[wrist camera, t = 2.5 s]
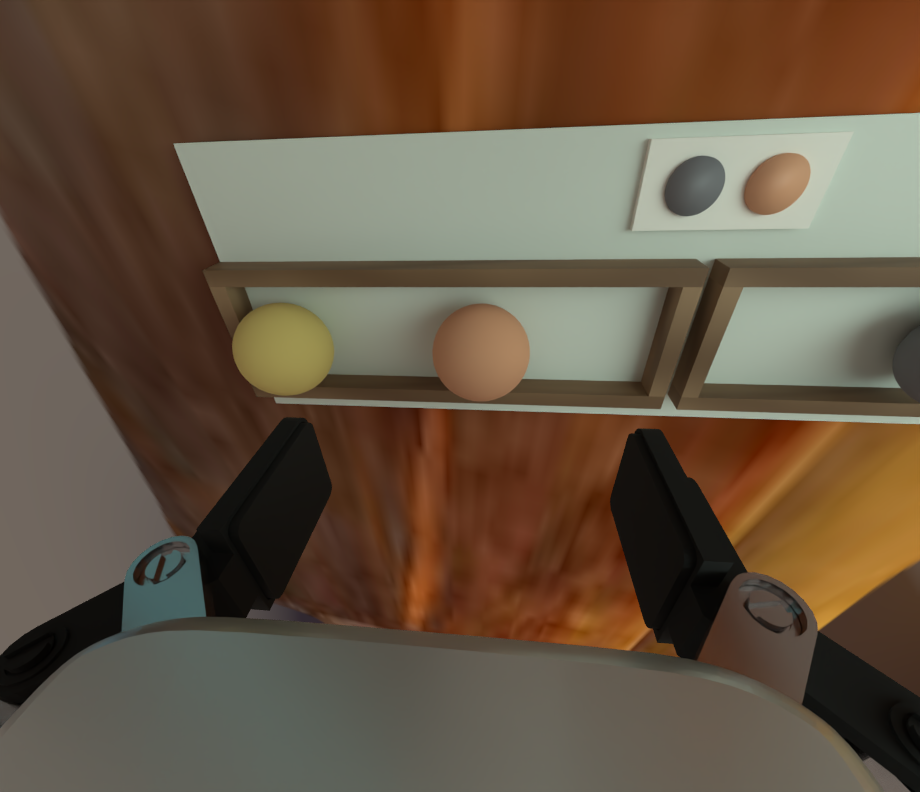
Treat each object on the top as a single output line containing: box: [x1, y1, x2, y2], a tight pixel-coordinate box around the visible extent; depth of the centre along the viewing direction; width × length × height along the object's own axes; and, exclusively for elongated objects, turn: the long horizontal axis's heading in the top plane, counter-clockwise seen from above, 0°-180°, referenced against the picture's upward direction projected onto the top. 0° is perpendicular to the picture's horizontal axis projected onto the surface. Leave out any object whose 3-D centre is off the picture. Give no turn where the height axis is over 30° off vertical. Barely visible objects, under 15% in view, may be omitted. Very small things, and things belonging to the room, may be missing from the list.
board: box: [174, 113, 920, 424], centre depth 16 cm, size 12×33×2 cm, turn 92°
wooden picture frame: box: [202, 259, 710, 409], centre depth 17 cm, size 6×20×1 cm, turn 92°
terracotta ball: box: [432, 303, 530, 402], centre depth 16 cm, size 4×4×4 cm
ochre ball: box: [232, 303, 334, 396], centre depth 16 cm, size 4×4×4 cm
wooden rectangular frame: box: [668, 257, 920, 417], centre depth 15 cm, size 6×12×1 cm, turn 92°
